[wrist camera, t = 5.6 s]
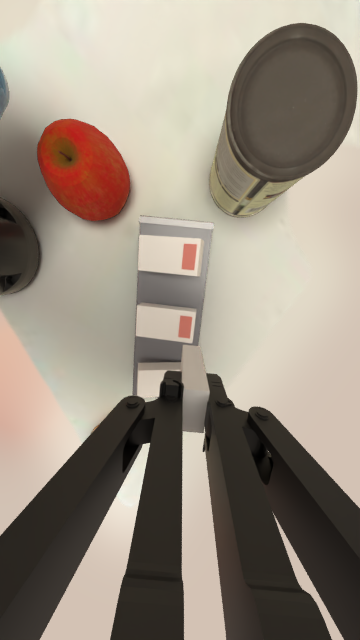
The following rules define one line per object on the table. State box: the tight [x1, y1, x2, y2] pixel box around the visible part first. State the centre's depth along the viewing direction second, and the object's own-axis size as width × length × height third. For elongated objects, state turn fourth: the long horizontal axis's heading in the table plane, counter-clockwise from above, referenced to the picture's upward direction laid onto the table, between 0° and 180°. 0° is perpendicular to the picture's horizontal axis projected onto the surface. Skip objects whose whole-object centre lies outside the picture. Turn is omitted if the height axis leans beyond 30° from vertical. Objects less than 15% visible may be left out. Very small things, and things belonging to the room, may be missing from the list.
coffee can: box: [209, 23, 357, 217], centre depth 23 cm, size 10×10×14 cm
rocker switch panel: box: [133, 215, 214, 398], centre depth 33 cm, size 10×28×5 cm, turn 175°
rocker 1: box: [138, 235, 204, 276], centre depth 27 cm, size 8×4×3 cm, turn 85°
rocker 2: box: [136, 303, 197, 343], centre depth 29 cm, size 8×4×3 cm, turn 85°
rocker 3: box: [137, 362, 181, 398], centre depth 31 cm, size 8×4×3 cm, turn 84°
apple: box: [37, 119, 130, 221], centre depth 26 cm, size 10×10×10 cm
